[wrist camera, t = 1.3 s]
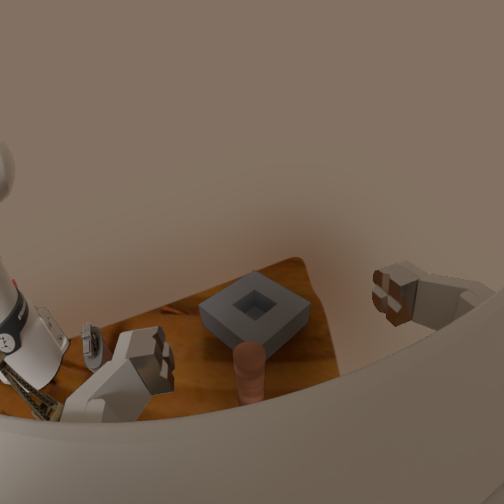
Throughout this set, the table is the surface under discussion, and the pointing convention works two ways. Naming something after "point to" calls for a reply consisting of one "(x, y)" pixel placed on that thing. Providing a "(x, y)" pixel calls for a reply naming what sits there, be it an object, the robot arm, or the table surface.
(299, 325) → the holder
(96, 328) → the lighter
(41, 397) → the eiffel tower
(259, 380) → the peg
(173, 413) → the table surface
